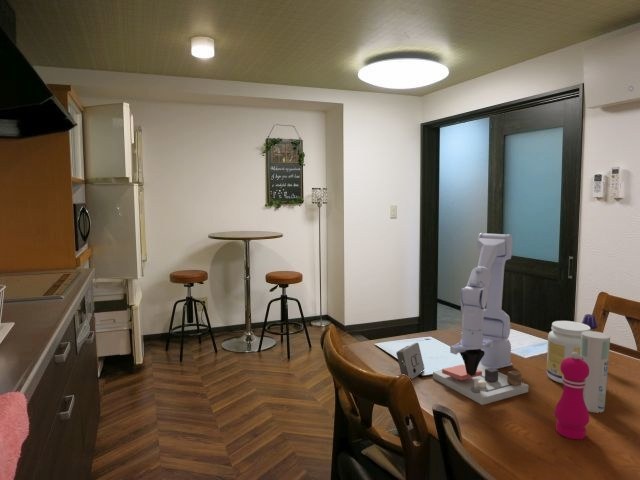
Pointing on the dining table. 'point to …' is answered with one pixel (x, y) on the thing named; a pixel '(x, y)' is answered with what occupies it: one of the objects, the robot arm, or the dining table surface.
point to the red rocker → (460, 372)
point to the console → (482, 386)
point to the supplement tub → (563, 345)
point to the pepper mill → (572, 399)
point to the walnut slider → (514, 378)
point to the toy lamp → (590, 321)
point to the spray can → (595, 368)
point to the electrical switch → (410, 360)
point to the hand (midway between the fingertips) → (470, 374)
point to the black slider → (491, 375)
